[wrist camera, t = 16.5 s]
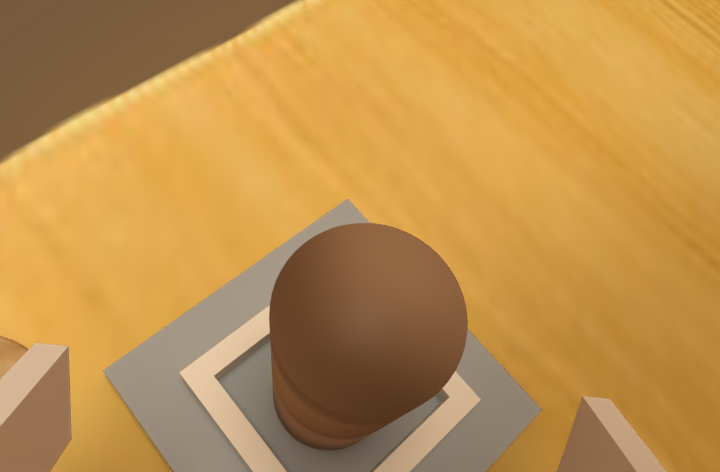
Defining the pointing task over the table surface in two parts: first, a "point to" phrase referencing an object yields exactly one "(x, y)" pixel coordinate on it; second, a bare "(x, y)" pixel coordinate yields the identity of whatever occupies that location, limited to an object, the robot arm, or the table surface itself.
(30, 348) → the robot arm
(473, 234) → the table surface
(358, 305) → the walnut pin
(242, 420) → the board
